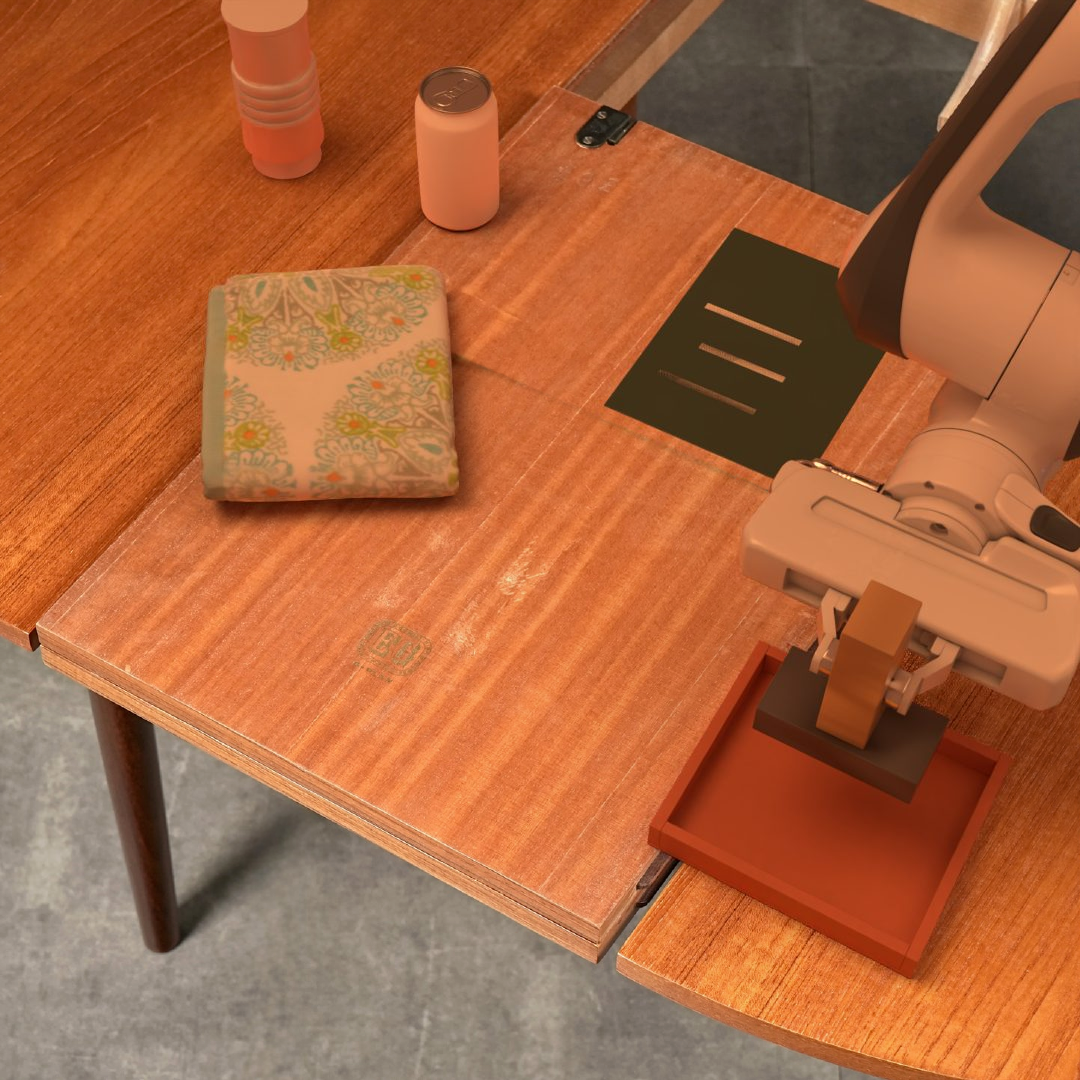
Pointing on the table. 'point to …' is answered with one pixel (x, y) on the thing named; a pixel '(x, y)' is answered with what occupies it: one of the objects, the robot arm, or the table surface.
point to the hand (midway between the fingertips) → (858, 688)
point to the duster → (857, 701)
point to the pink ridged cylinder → (275, 84)
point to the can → (457, 148)
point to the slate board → (752, 359)
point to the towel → (329, 386)
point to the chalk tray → (826, 827)
